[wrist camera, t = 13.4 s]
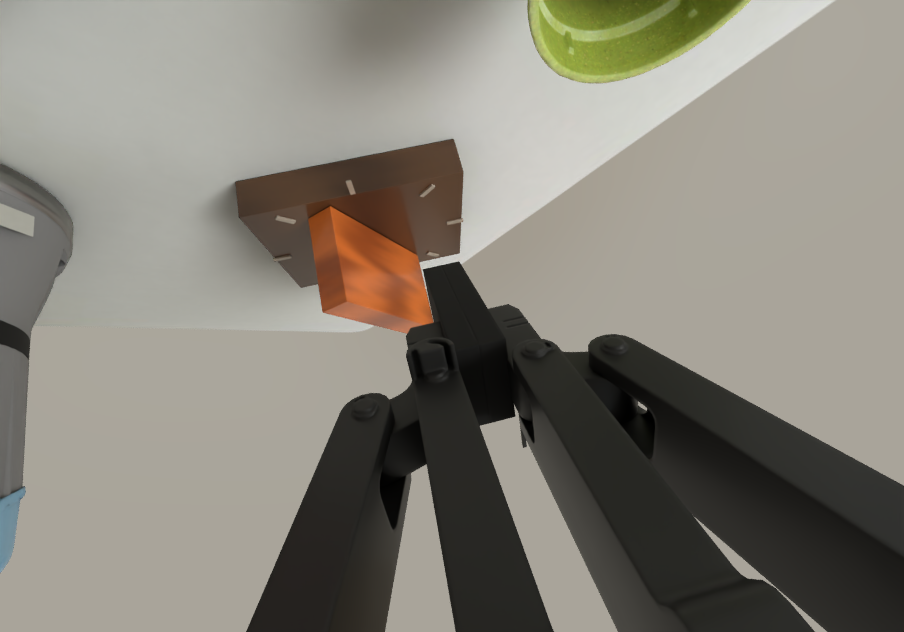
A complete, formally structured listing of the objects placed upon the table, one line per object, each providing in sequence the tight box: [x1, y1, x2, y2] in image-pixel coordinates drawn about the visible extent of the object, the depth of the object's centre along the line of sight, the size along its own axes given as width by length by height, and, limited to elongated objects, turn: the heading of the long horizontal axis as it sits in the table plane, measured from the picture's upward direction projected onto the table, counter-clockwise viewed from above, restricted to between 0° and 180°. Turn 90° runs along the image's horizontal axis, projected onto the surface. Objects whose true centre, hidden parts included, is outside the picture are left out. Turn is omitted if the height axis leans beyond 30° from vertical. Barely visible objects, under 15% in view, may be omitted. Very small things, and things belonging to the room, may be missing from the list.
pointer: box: [308, 206, 434, 333], centre depth 35 cm, size 12×2×8 cm, turn 29°
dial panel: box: [235, 139, 463, 288], centre depth 37 cm, size 16×16×3 cm
